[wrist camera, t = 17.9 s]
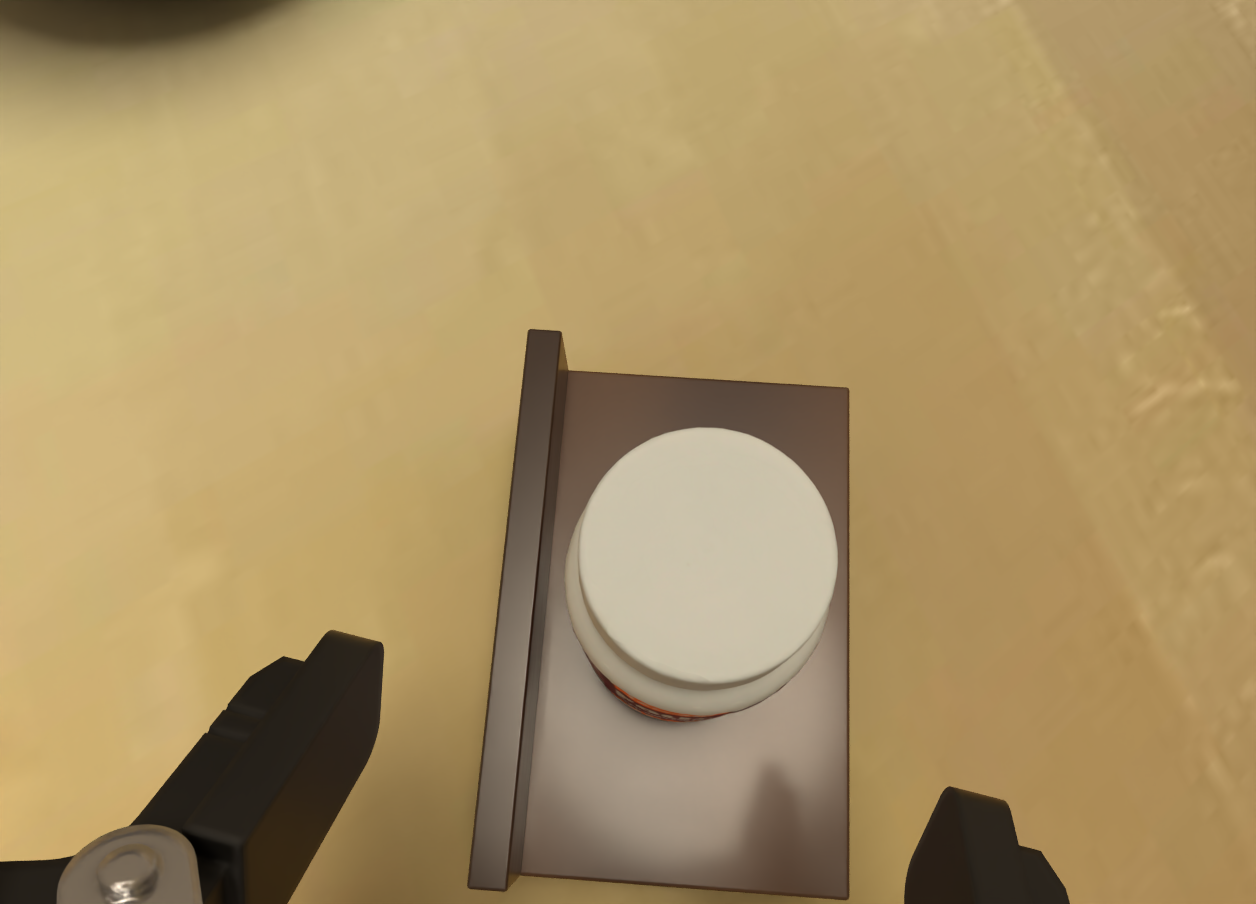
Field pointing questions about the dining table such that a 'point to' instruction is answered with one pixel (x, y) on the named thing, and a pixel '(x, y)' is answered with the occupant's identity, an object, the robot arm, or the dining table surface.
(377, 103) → the dining table surface
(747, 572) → the pill bottle
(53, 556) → the dining table surface
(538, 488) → the shelf
